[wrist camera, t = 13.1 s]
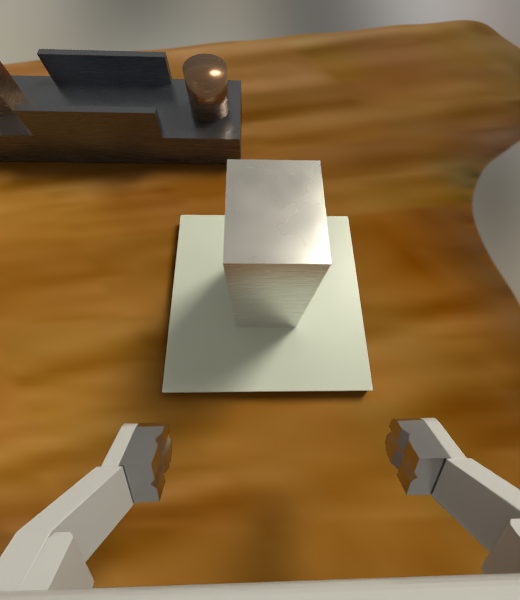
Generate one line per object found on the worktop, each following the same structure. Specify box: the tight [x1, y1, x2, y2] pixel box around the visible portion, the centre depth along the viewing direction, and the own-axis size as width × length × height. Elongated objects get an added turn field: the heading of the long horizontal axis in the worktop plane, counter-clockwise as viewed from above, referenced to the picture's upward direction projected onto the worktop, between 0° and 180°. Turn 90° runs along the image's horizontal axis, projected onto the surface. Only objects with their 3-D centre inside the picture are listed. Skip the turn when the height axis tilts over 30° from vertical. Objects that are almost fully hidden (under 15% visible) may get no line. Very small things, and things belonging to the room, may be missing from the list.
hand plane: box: [0, 49, 242, 164], centre depth 23 cm, size 22×7×6 cm, turn 91°
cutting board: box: [162, 215, 373, 393], centre depth 20 cm, size 13×13×1 cm
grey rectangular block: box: [223, 159, 331, 327], centre depth 15 cm, size 4×5×9 cm
